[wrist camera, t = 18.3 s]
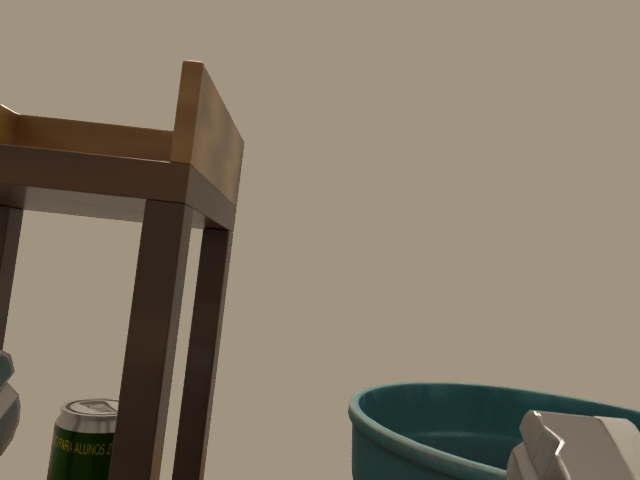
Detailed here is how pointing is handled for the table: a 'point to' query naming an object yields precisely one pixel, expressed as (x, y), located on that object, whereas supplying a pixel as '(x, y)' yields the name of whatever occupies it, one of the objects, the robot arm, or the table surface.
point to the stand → (141, 248)
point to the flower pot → (450, 428)
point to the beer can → (83, 440)
